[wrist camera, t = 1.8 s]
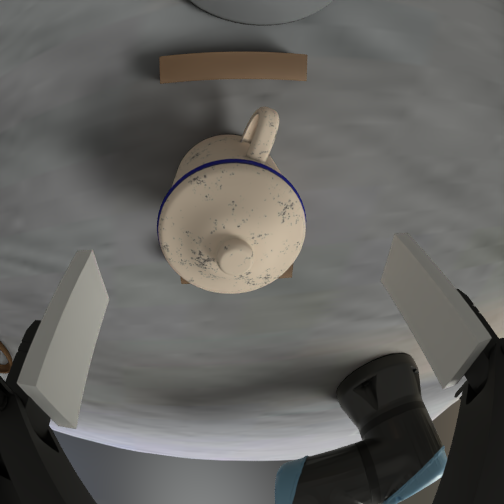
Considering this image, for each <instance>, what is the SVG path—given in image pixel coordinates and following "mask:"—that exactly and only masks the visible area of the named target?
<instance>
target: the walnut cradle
mask: <svg viewBox="0 0 504 504" xmlns="http://www.w3.org/2000/svg"><path fill="white" fill-rule="evenodd" d="M159 61H160V84H163V83H172V82H184V81H197V80H216V79H279V80H298V81H306V79H307V55H305V54H293V53H277V52H207V53H191V54H179V55H169V56H161V57H159ZM292 270H293V263H292V265H291V266H290V267H289V268H288V269H287V271H285V272H284V273H283V274H282V275H281V276H280V277H279V278H291V277H292ZM180 277H181V276H180ZM181 283H182V284H191V283H189V282H188V281H186V280H185V279H183V278H182V277H181Z"/></svg>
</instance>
